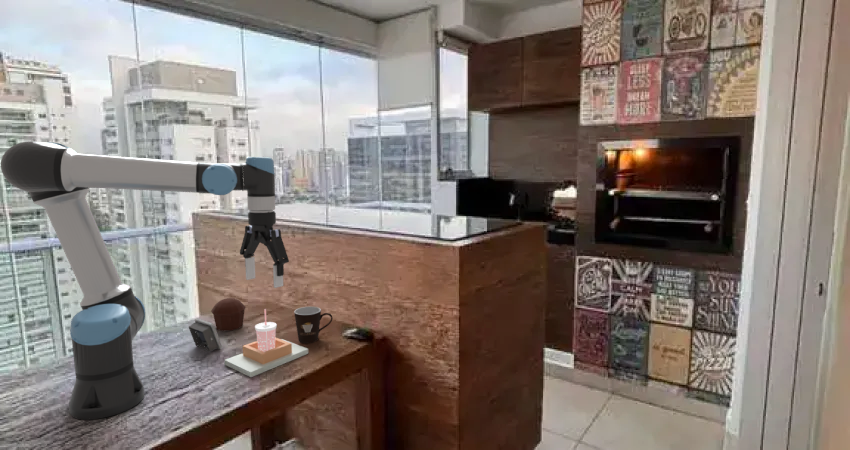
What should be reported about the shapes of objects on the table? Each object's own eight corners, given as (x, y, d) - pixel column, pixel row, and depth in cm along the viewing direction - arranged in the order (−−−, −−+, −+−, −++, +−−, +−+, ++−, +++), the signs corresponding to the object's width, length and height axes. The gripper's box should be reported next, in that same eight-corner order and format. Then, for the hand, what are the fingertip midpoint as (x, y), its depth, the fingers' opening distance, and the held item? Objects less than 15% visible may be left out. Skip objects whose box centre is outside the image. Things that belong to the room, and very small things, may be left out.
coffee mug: (290, 343, 152) (289, 313, 150) (303, 333, 160) (302, 305, 159) (322, 346, 149) (322, 316, 148) (334, 336, 157) (333, 308, 156)
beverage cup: (277, 348, 143) (275, 305, 141) (277, 356, 138) (276, 311, 136) (256, 351, 141) (254, 307, 139) (256, 359, 136) (254, 313, 134)
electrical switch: (223, 348, 147) (218, 321, 145) (207, 356, 143) (203, 328, 141) (205, 342, 152) (201, 316, 150) (190, 349, 148) (186, 322, 146)
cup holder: (250, 377, 128) (250, 361, 127) (224, 364, 135) (224, 350, 135) (308, 353, 144) (307, 339, 143) (282, 343, 151) (281, 330, 151)
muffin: (217, 321, 171) (215, 295, 169) (248, 320, 173) (247, 294, 171) (208, 333, 159) (206, 305, 158) (242, 331, 161) (240, 304, 160)
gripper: (300, 213, 129) (302, 287, 132) (248, 206, 144) (250, 273, 147) (277, 215, 123) (279, 293, 126) (225, 208, 138) (228, 278, 141)
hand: (264, 282), depth 136 cm, fingers open, 13 cm apart
